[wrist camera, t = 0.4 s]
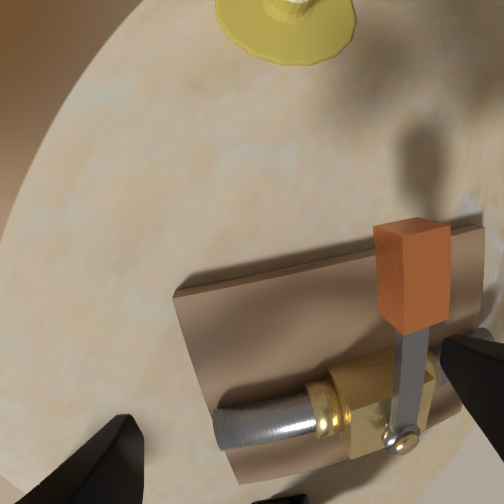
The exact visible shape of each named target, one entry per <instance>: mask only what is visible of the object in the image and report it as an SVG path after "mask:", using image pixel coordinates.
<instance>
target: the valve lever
mask: <svg viewBox="0 0 504 504" xmlns="http://www.w3.org/2000/svg"><path fill="white" fill-rule="evenodd" d="M373 233H374V244H375V256H376V270H377V288H378V313H379V314H380V315H381V316H383V317H384V318H385V319H386V320H387V321H388V322H389V323H390V324H391V325H392V326H394V327H395V353H394V373H393V387H392V399H391V409H390V418H389V425H388V426H387V427H386V428H385V430H384V431H383V433H382V435H381V440H382V442H383V443H384V445H385V447H386V449H387V450H388V452H390V453H397V454H398V455H403V454H406V453H408V452H410V451H411V450H413V449H414V448H415V447H416V446H417V444H418V443H419V438H418V437H419V435H420V428H419V427H418V425H417V419H418V414H419V408H420V402H421V396H422V390H423V383H424V376H425V368H426V360H427V350H428V339H429V326H432V325H434V324H437V323H439V322H442V321H444V320H447V319H448V318H449V304H450V285H451V228H450V225H447V224H443V223H439V222H436V221H432V220H428V219H424V218H420V217H415V218H410V219H405V220H401V221H396V222H391V223H386V224H381V225H376V226H373Z"/></svg>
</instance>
